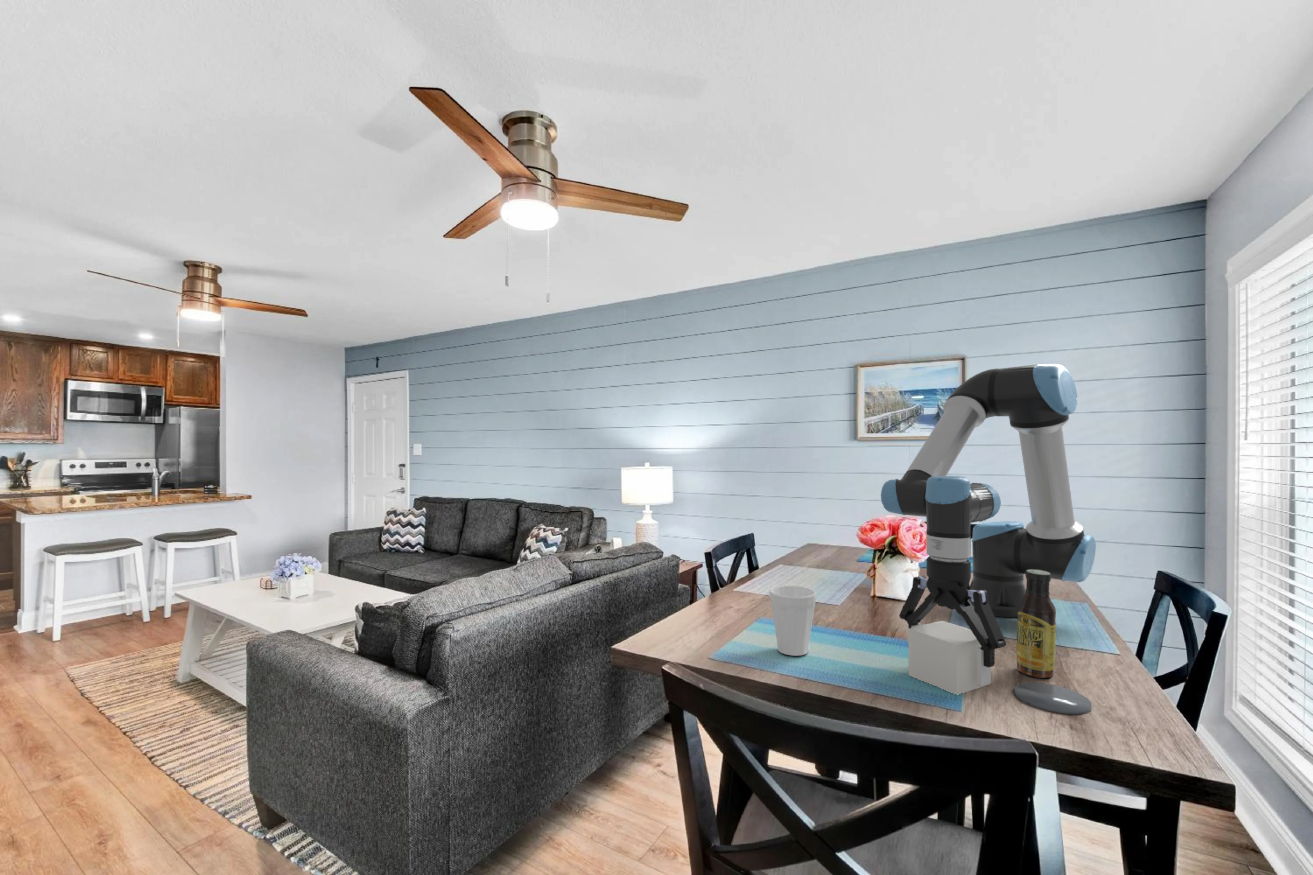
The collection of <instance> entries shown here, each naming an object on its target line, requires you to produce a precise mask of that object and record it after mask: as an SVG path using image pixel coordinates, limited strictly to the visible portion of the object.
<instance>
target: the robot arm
mask: <svg viewBox="0 0 1313 875" xmlns="http://www.w3.org/2000/svg"><path fill="white" fill-rule="evenodd" d="M1077 398H1078V392H1077V388H1076V383H1075V380H1074V378H1073V376H1072V374H1071V373H1070V371H1069V370H1068V369H1067V368H1066V367H1065V366H1064V365H1061V364H1058V363H1049V364H1043V363H1039V364H1031V365H1030V364H1029V365H1022V366H1013V367H1003V368H991V369H987V370H983V371H981V372H979V373H976V374H974V375H973V376H970V378H968V379H966V380H965V381H964V382H963V383H961V384H960V385H959V386H957V388H956V389H954V390H953V392H951V394H950V395H949V396H948V398H947V399H946V401H945V402H944V404H943V407H942V409H943V410H942V411H943V413H942V415H941V417H940V418H939V420H938V422H936V425H935V426H934V428H933V430H932V431H931V433H930V434H929V436H928V438H926V440H925V442H924V443H923V445H922V447H921V448H920V450H919V452H918V453H917V454H916V456H915V458H914V459H913V460H912V462H911V464H910V466H908V469H907V470H906V472H905V473H904V474H903V476H902V477H901V479H898V478H895V479H889V480H888V481H885V483H883V485H882V486H881V491H880V501H881V504H882V506H883V508H884V509H885V510H886V511H887V512H889V513H892V514H896V515H901V516H913V517H914V516H915V517H926V519H925V520H926V521H925V522H926V531H925V532H926V554H927V556H928V557H926V563H925V564H926V575H927V577H928V578H927V577H926V576H925V575H919V576H914V577H913V579H912V587H911V589H910V591H909V593H908V596H907V597H906V599H905V602H904V604H903V607H902V608H901V610H900V612H899V614H898V617H899V618H900V619H902V620H904V621H905V622H906V623H907V624H908V627H907V628H908V629H909V628H913V627H917V626H922V625H923V624H921V623H922V622H923V621H922V620H923V619H924V618H926V616H928V614H929V613H930V612H931V611H932V610H933V609H934V608H935V607H936V606H938V607H942V608H943V607H946V608H947V609H948V610H949V609H950V610H955V611H956V612H957V614H958V615H960V616H961V617H962V619H963V620H964V622H965V623H966V625H967V626H968V629H971V631H972V632H973V634H974V635H975V637H976V639H977V640H978V642H979V643H980V645H981V647H977V684H979V685H984V684H987V683H990V682H991V683H992V667H995V663H996V661H995V659H996V658H995V657H996V656H995V651H996V650H998V649H1001V648H1004V647H1006V646H1007V641H1006V638H1005V637H1004V635H1003V632H1002V630H1001V628H1000V626H999V623H998V621H997V619H996V617H1003V618H1018V611H1019V609H1020V606H1021V604H1022V601H1023V598H1024V596H1025V593H1026V586H1025V582H1024V575H1026V570H1030V569H1032V570H1042V571H1046V572H1049V573H1050V574H1051V579H1052V580H1058V581H1062V582H1070V583H1071V582H1073V583H1082V582H1084V581H1086V580H1087V579H1088V578H1089V576H1090V574H1091V571H1092V569H1093V565H1094V562H1095V556H1096V548H1097V546H1096V539H1095V537H1094V536H1093V535H1089V534H1088V533H1087V534H1085V532H1084V526H1083V524H1082V523H1081V522H1079V521H1078V520H1076V519H1075V517H1074V516H1075V515H1074V510H1073V507H1074V506H1073V500H1072V494H1071V493H1072V492H1071V486H1070V478H1069V469H1068V464H1067V463H1068V462H1067V455H1066V446H1065V441H1064V440H1065V438H1064V433H1063V432H1064V431H1063V426H1064V425H1065V424H1066V423H1068V422H1069V420H1070V418H1069V416H1070V415H1072V414H1073V413H1074V412H1075V411H1076V409H1077V405H1078V400H1077ZM993 417H1008V418H1009V425H1010V427H1011V428H1013V429H1015V430H1016V431H1017V432H1018V435H1019V442H1020V449H1021V455H1022V456H1021V457H1022V462H1023V467H1024V468H1023V470H1024V476H1025V483H1026V490H1027V496H1028V497H1027V498H1028V502H1029V511H1030V517H1031V521H1030V522H1029V523H1027V524H1026V527H1025V525H1024V523H1023V522H1022V521H1016V520H1014V521H1012V520H1011V521H1010V520H1009V521H1008V520H1006V521H1005V520H1004V521H989V522H987V521H986V520H989V519H991V518H993V517H995V516H996V515H997V514H998V513H999V511H1000V508H1001V505H1002V504H1001V502H1002V501H1001V500H1002V499H1001V497H1000V494H999V493H998V491H997V490H996V489H995V488H994V487H993V486H991V485H989V484H987V483H981V482H979V483H978V482H970V480H969V479H968V478H967V477H965V476H961V475H960V476H959V475H948V474H949V472H950V470H951V468H952V467H953V465H954V463H955V461H956V460H957V458H958V456H959V455H960V454H961V452H962V450H963V448H964V447H965V445H966V443H967V442H968V439H969V438H970V436H971V435H972V433H973V431H974V430H975V428H977V427H980V426H981V425H982V424H983V423H984V422H985V420H987V419H989V418H993ZM984 521H986V522H984ZM978 522H980V523H978ZM971 523H977V524H976V525H974V527H973V528H972V537H971V525H972V524H971ZM1024 527H1025V528H1024ZM971 538H972V539H971ZM971 542H972V543H971ZM971 546H972V547H971ZM971 549H972V550H971ZM970 558H972V563H971V561H970V560H969V559H970ZM971 565H972V566H971ZM971 568H972V569H971ZM926 589H927V590H928V592H929V594H928V595H927V596H926V597H925V598H924V601H923V602H922V603H921V604H920V605H919V603H920V600H921V599H922V597H923V595H924V592H925V591H926ZM918 605H919V606H918ZM976 612H977V613H976Z"/></svg>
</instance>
